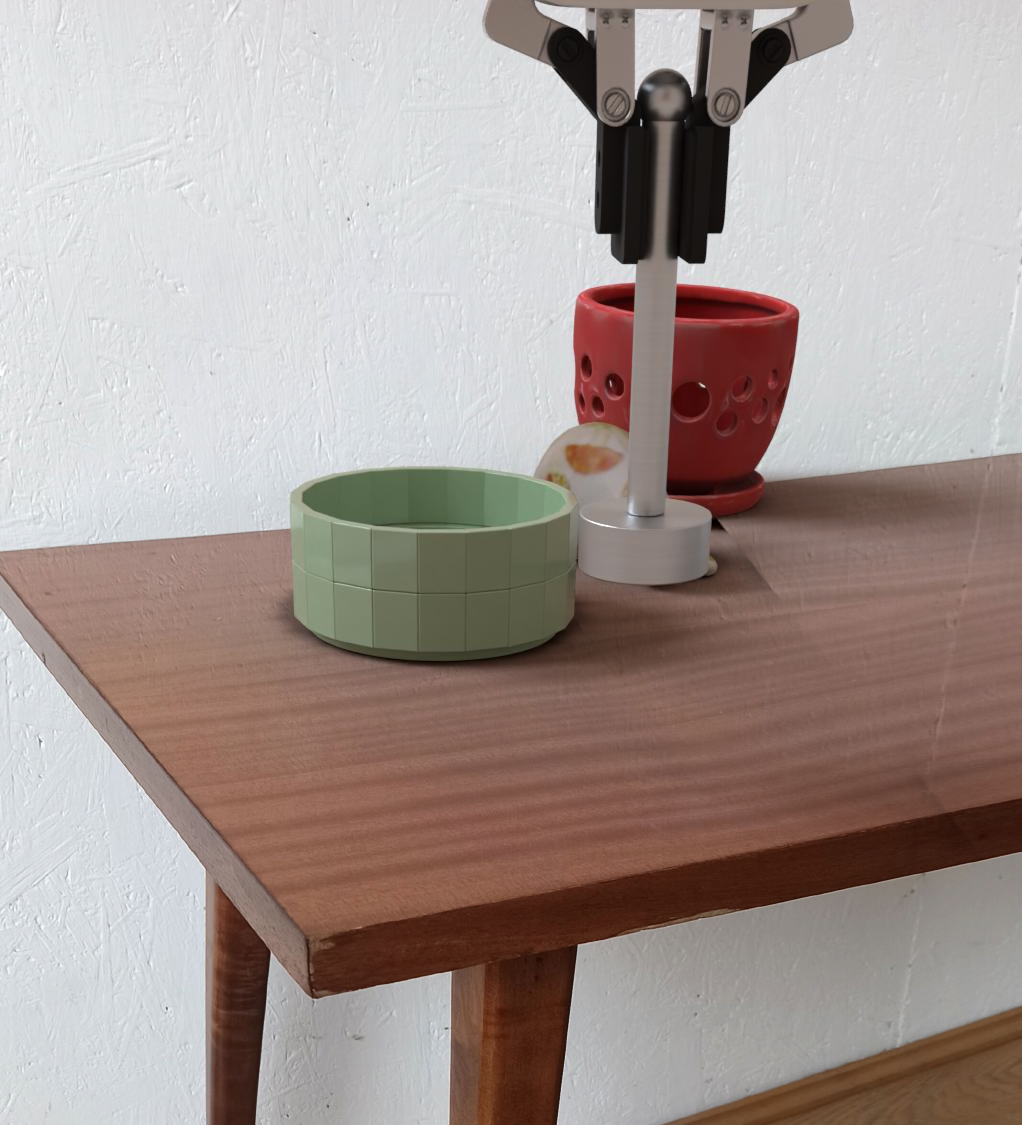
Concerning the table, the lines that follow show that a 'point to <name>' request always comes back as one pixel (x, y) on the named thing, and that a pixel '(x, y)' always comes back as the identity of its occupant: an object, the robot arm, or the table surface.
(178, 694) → the table surface
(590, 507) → the ball topped metal stand
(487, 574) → the bowl
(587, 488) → the mug
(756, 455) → the flower pot
